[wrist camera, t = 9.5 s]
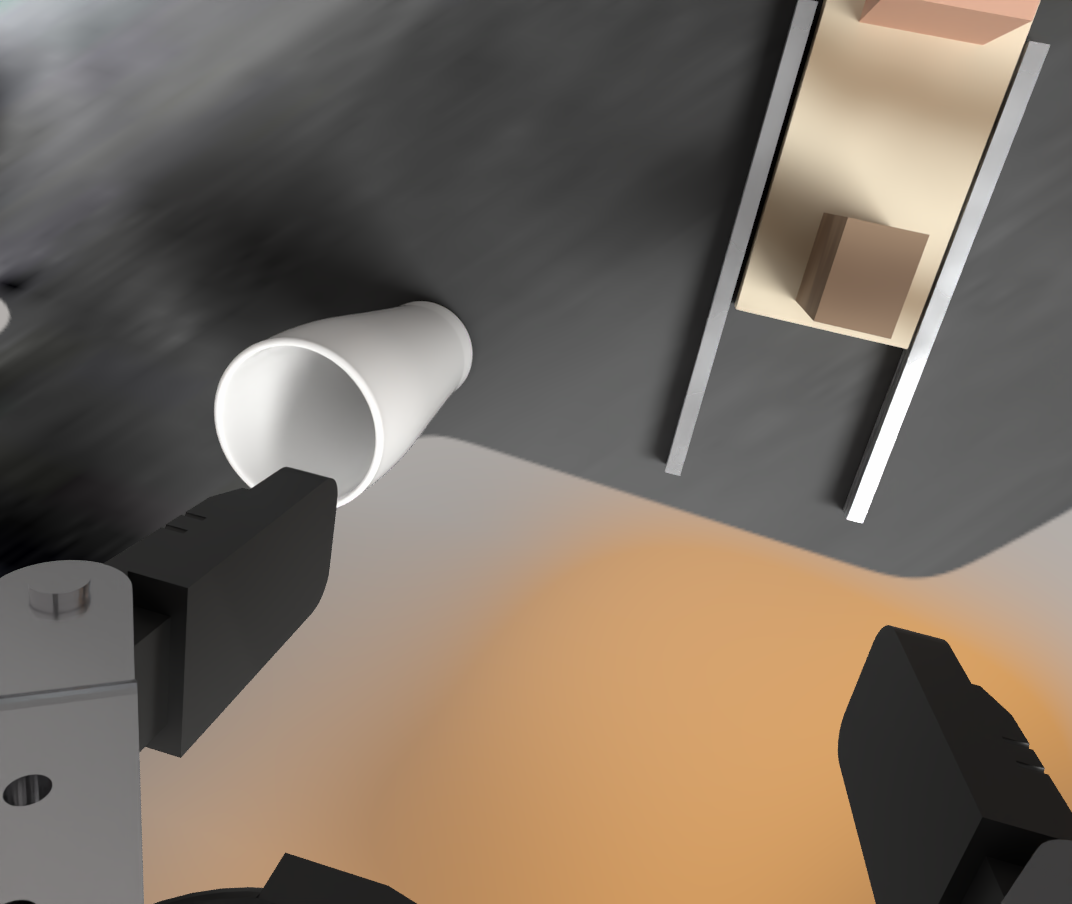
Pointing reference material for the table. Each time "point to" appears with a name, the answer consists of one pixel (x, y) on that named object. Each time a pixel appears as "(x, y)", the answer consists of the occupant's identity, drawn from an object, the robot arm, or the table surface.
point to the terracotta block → (951, 17)
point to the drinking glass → (341, 394)
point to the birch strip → (873, 174)
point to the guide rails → (940, 289)
